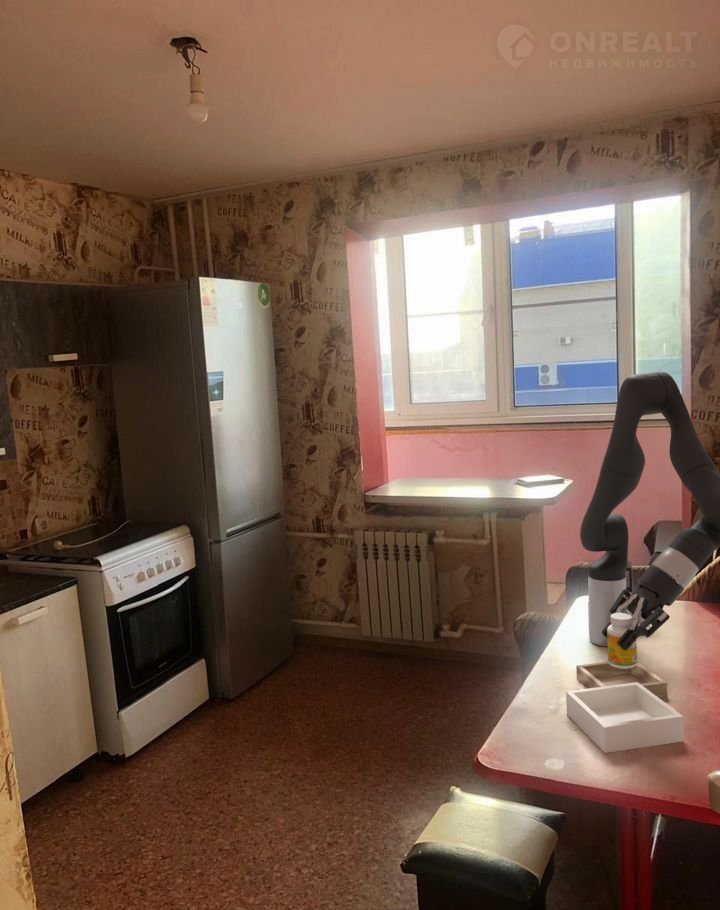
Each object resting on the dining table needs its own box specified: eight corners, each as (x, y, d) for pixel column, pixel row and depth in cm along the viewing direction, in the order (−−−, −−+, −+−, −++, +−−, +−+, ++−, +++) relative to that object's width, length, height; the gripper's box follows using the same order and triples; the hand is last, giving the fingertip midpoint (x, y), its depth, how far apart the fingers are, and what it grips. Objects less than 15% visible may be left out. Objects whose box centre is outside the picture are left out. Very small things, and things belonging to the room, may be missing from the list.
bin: (566, 714, 152) (566, 691, 152) (637, 704, 155) (637, 682, 154) (604, 752, 137) (604, 727, 136) (683, 741, 139) (683, 716, 139)
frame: (576, 678, 170) (576, 665, 169) (632, 670, 172) (632, 658, 171) (606, 704, 156) (606, 690, 155) (667, 696, 158) (667, 682, 158)
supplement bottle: (603, 659, 147) (602, 612, 146) (629, 657, 147) (628, 610, 146) (614, 670, 141) (613, 621, 140) (641, 667, 142) (640, 619, 141)
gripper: (635, 555, 150) (582, 618, 150) (677, 573, 136) (618, 643, 136) (660, 578, 152) (607, 640, 151) (703, 598, 138) (645, 667, 137)
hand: (613, 641), depth 143 cm, fingers closed on supplement bottle, 5 cm apart
